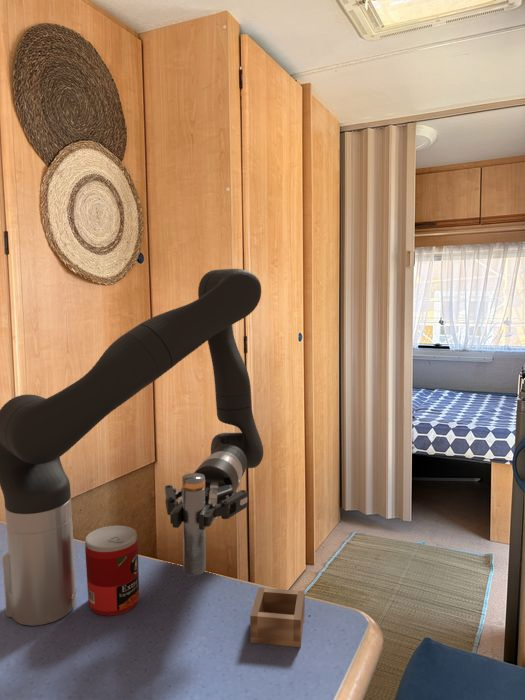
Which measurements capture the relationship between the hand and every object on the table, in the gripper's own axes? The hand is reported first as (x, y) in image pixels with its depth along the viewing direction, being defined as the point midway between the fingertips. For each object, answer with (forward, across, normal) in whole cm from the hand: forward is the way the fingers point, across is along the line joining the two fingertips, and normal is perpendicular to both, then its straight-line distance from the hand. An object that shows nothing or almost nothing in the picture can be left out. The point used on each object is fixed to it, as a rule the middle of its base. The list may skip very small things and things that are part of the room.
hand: (188, 522), depth 74 cm
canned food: (-6, -14, +17) cm, 23 cm away
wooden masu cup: (-3, +12, +17) cm, 21 cm away
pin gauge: (-3, 0, +8) cm, 9 cm away
